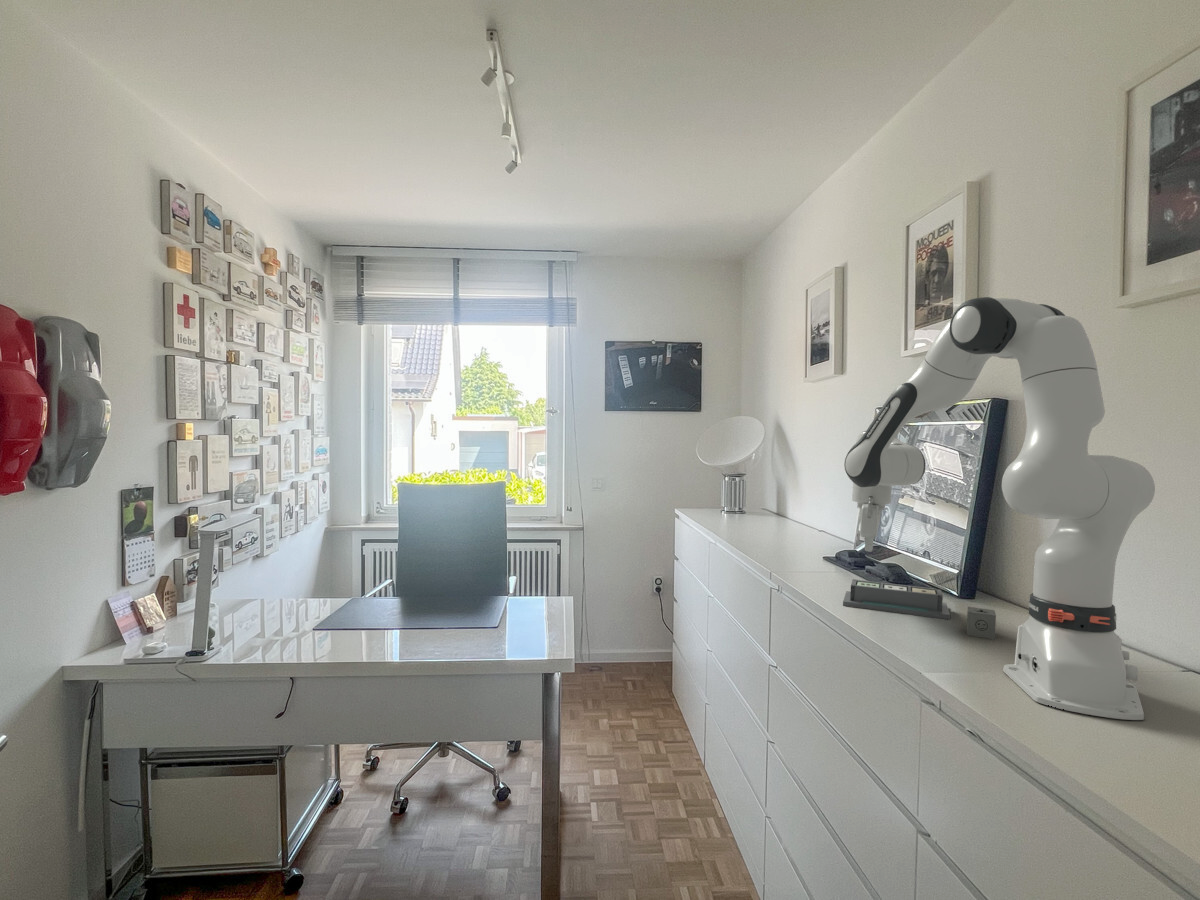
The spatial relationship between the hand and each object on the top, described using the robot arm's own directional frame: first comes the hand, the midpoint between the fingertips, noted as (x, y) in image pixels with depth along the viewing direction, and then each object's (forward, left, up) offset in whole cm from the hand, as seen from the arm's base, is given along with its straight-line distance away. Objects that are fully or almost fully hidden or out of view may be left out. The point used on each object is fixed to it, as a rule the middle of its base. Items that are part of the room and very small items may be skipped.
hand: (868, 550), depth 162 cm
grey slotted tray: (0, -6, -13) cm, 14 cm away
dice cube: (-16, -23, -13) cm, 31 cm away
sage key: (0, 0, -10) cm, 10 cm away
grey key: (0, -6, -10) cm, 12 cm away
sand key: (0, -13, -10) cm, 16 cm away
